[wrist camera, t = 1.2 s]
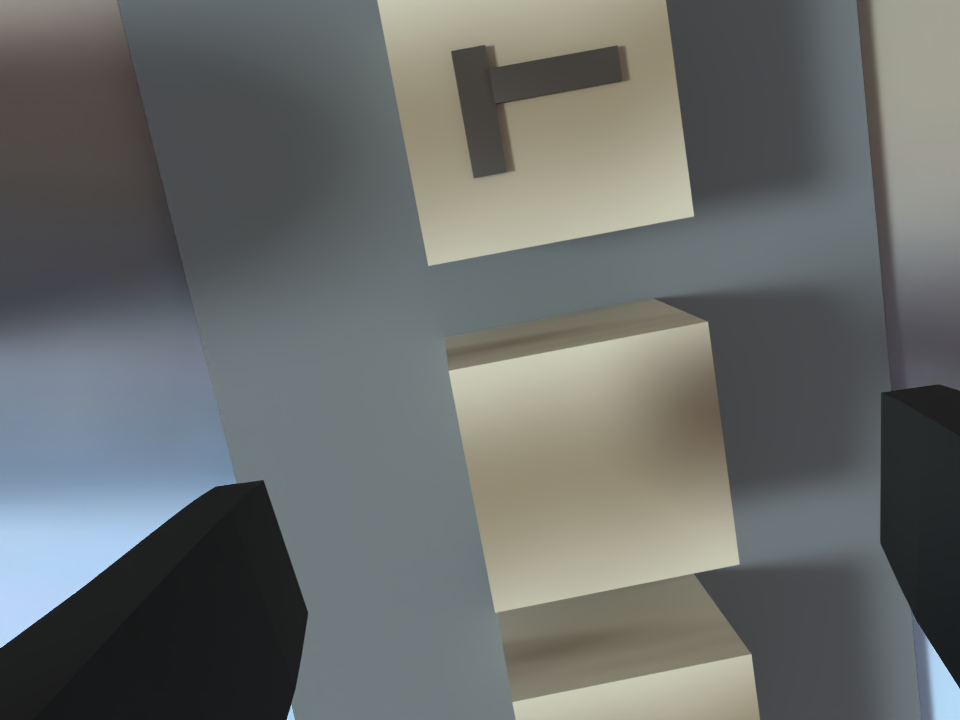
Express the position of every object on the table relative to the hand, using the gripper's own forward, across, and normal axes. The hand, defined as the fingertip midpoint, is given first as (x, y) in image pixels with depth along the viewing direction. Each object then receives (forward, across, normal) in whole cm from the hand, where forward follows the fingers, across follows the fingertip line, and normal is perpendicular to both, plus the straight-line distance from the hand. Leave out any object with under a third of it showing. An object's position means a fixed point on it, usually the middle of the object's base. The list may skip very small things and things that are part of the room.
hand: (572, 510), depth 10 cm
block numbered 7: (+11, 0, -3) cm, 12 cm away
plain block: (+10, 0, +4) cm, 10 cm away
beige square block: (+8, 0, +11) cm, 14 cm away
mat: (+10, 0, +4) cm, 11 cm away
